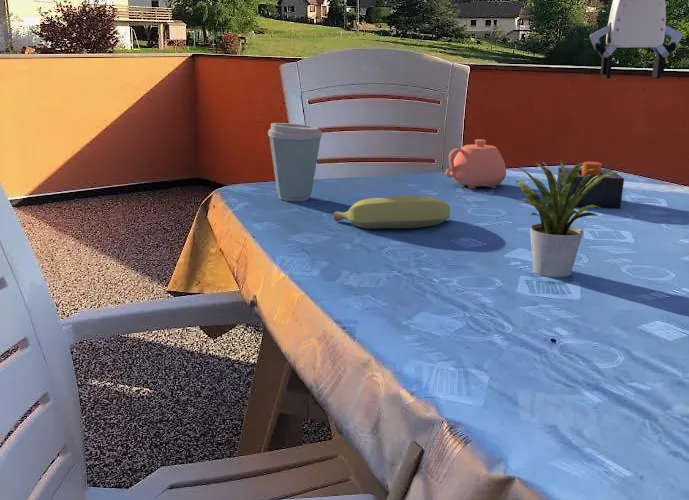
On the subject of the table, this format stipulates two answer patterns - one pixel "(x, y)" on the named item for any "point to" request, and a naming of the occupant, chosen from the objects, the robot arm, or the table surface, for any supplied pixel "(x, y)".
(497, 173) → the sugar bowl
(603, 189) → the holder
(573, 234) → the house plant
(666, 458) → the table surface
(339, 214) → the banana
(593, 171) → the orange-capped white cylinder
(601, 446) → the table surface
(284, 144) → the disposable coffee cup
